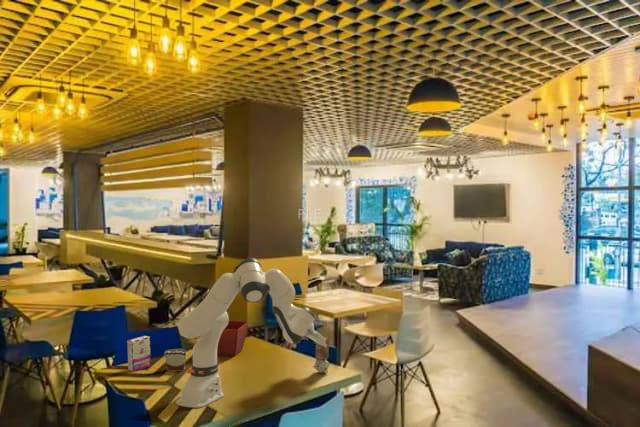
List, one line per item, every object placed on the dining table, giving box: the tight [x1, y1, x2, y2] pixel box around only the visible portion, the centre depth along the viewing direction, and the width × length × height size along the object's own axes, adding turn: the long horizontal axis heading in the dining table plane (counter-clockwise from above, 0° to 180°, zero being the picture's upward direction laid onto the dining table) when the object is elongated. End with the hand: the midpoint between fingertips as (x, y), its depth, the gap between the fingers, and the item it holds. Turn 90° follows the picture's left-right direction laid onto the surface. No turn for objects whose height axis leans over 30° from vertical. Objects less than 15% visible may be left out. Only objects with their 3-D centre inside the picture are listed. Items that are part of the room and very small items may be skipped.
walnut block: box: [315, 336, 330, 360], centre depth 262 cm, size 5×5×10 cm
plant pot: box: [217, 320, 249, 357], centre depth 298 cm, size 19×19×17 cm
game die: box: [312, 357, 332, 375], centre depth 262 cm, size 9×8×10 cm
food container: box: [163, 348, 188, 372], centre depth 271 cm, size 12×6×10 cm, turn 84°
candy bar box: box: [126, 335, 152, 373], centre depth 272 cm, size 11×5×16 cm, turn 143°
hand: (322, 344), depth 262 cm, fingers open, 7 cm apart
